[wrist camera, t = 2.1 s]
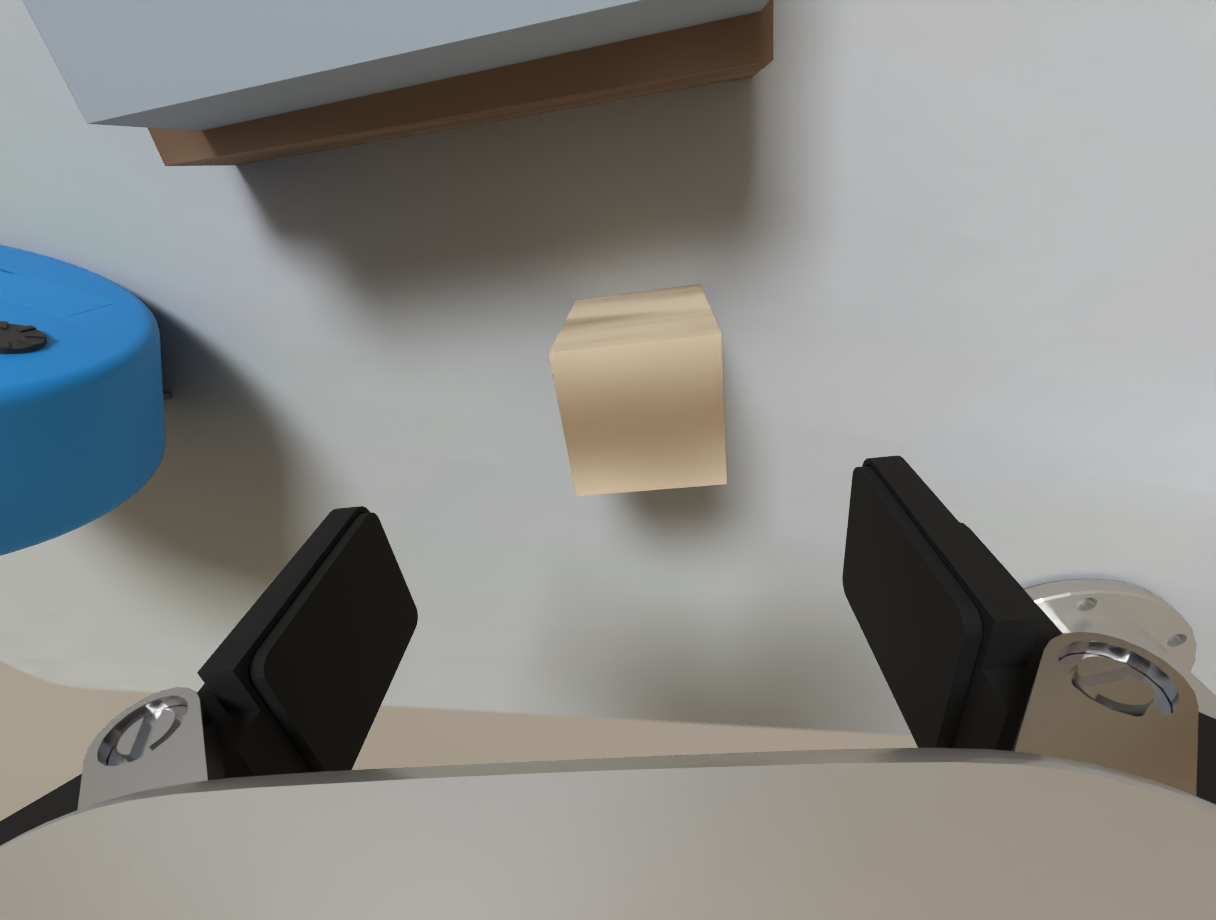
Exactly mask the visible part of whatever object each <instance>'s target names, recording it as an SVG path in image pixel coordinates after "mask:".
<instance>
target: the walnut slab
mask: <svg viewBox="0 0 1216 920" xmlns="http://www.w3.org/2000/svg"><path fill="white" fill-rule="evenodd" d="M771 61H773V0H770V1H769V2H768V3H767V4H766V6H765V7H764V8H763V9H762V11H759V12H755V13H750V14H745V15H740V16H736V17H731V18H726V19H722V20H717V21H712V22H708V23H703V24H698V25H694V26H689V27H684V28H680V29H675V30H670V31H666V32H661V33H656V34H652V35H647V36H642V37H638V38H633V39H628V40H624V41H619V42H614V43H610V44H605V45H600V46H596V47H591V48H586V49H582V50H577V51H572V52H568V53H563V54H558V55H554V56H549V57H544V58H539V59H535V60H530V61H525V62H521V63H516V64H511V65H507V66H502V67H497V68H493V69H488V70H483V71H479V72H474V73H469V74H465V75H460V76H455V77H451V78H446V79H441V80H437V81H432V82H427V83H423V84H418V85H413V86H409V87H404V88H399V89H395V90H390V91H385V92H381V93H376V94H371V95H367V96H362V97H357V98H353V99H348V100H343V101H339V102H334V103H329V104H324V105H320V106H315V107H310V108H306V109H301V110H296V111H292V112H287V113H282V114H278V115H273V116H268V117H264V118H259V119H254V120H250V121H245V122H240V123H236V124H231V125H226V126H222V127H217V128H212V129H208V130H203V131H197V130H181V129H165V128H149V127H148V129H149V132H150V134H151V136H152V138H153V140H154V142H155V145H156V147H157V149H158V151H159V153H160V156H161V158H162V160H163V162H164V164H165V166H202V165H240V164H246V163H252V162H258V161H264V160H269V159H275V158H281V157H287V156H293V155H299V154H304V153H310V152H316V151H322V150H328V149H334V148H339V147H345V146H351V145H357V144H363V143H369V142H375V141H380V140H386V139H392V138H398V137H404V136H410V135H415V134H421V133H427V132H433V131H439V130H445V129H451V128H456V127H462V126H468V125H474V124H480V123H486V122H491V121H497V120H503V119H509V118H515V117H521V116H527V115H532V114H538V113H544V112H550V111H556V110H562V109H567V108H573V107H579V106H585V105H591V104H597V103H603V102H608V101H614V100H620V99H626V98H632V97H638V96H643V95H649V94H655V93H661V92H667V91H673V90H679V89H684V88H690V87H696V86H702V85H708V84H714V83H719V82H725V81H731V80H737V79H743V78H749V77H753V76H754V75H755V74H756V73H758V72H759V71H760V70H761V69H763V68H764V67H765V66H766V65H768V64H769V63H770V62H771Z"/></svg>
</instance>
